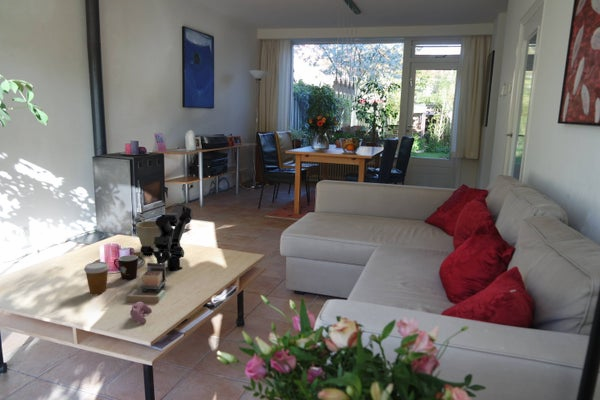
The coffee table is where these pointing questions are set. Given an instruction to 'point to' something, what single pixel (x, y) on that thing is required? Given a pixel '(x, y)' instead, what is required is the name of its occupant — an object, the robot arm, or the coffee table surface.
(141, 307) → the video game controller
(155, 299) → the dock bay
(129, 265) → the coffee mug
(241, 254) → the coffee table surface
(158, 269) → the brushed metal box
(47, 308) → the coffee table surface
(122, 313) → the coffee table surface
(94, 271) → the disposable coffee cup
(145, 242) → the plant pot
